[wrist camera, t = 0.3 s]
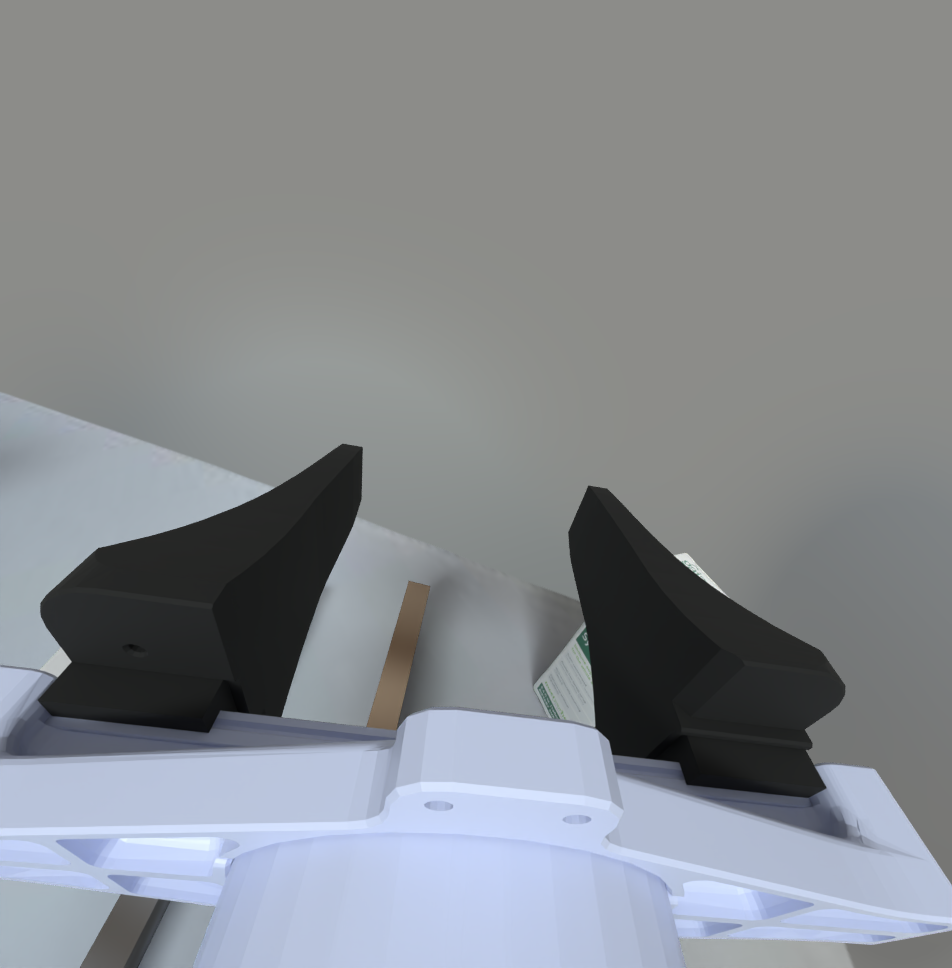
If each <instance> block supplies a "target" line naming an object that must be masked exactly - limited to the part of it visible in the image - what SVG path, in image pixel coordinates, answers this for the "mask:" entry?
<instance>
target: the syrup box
mask: <svg viewBox="0 0 952 968" xmlns="http://www.w3.org/2000/svg"><path fill="white" fill-rule="evenodd" d="M674 556H675V557H676V558H677V559H678V560H680V561H681V562H682V563H683V564H684V565H686V566H687V567H688V568H689V569H691V570H692V571H693V572H694V573H696V574H697V575H698V576H699V577H701V578H702V579H703V580H704V581H706V582H707V583H709V584H710V585H711V586H713V587H714V588H715V589H717V590H718V591H720V592H721V593H723V594H724V595H726V594H725V593H724V592H723V591H722V590H721V589H720V588H719V587H718V586H717V584H716V583H714V582H713V580H711V579H710V578H709V576H707V574H706V573H705V572H704V571H702V569H701V568H700V567H699V566H698V565H697V564H696V563H695V562H694V560H693V559H692V558H691V557H690V556H689V555H688V554H687V553H681V554H678V555H674ZM726 596H727V595H726ZM727 597H728V596H727ZM728 598H729V597H728ZM533 689H534V691H535V693H536V695H537V696H538V698H539V700H540V702H541V703H542V705H543V708H544V710H545V712H546V714H547V716H548V718H554V719H562V720H571V721H575V722H579V723H582V724H586V725H590V726H593V727H594V728H595V729H596V727H595V712H594V696H593V684H592V673H591V663H590V654H589V646H588V637H587V630H586V625H585V621H584V622H583V624H582V625H581V626H580V628H579V629H578V630H577V632H576V633H575V634H574V636H573V637H572V638H571V640H570V641H569V642H568V643H567V645H566V646H565V647H564V649H563V650H562V651H561V653H560V654H559V655H558V656H557V658H556V659H555V660H554V661H553V663H552V664H551V665H550V666H549V668H548V669H547V670H546V671H545V672H544V673H543V674H542V676H541V677H540V678H539V679H538V680H537V682H536V683H535V684H534V687H533Z"/></svg>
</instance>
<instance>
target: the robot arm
mask: <svg viewBox="0 0 952 968" xmlns="http://www.w3.org/2000/svg"><path fill="white" fill-rule="evenodd" d="M362 451H363V448H362V447H358V446H352V445H347V444H342V445H340V446H339V447H337V448H336V449H334V450H333V451H331V452H330V453H328V454H327V455H326V456H324V457H323V458H322V459H320V460H318V461H317V462H316V463H314V464H313V465H311V466H310V467H308V468H307V469H305V470H304V471H302V472H301V473H299V474H298V475H296V476H295V477H293V478H291V479H290V480H288V481H286V482H284V483H283V484H281V485H280V486H278V487H276V488H274V489H273V490H271V491H269V492H267V493H265V494H263V495H261V496H259V497H257V498H255V499H253V500H251V501H249V502H246V503H244V504H242V505H240V506H238V507H235V508H233V509H230V510H227V511H225V512H222V513H220V514H217V515H215V516H212V517H209V518H207V519H204V520H201V521H199V522H196V523H193V524H189V525H186V526H183V527H180V528H177V529H173V530H170V531H167V532H163V533H160V534H156V535H152V536H149V537H144V538H140V539H136V540H132V541H127V542H123V543H119V544H115V545H111V546H106V547H101V548H98V549H97V550H96V551H94V552H93V553H92V554H91V555H90V556H89V557H88V558H87V559H85V560H84V561H83V562H82V563H81V564H80V565H79V566H78V567H77V568H76V569H75V570H73V571H72V572H71V573H70V574H69V575H68V576H67V577H66V578H65V579H64V580H62V581H61V582H60V583H59V584H58V585H57V586H56V587H55V588H54V589H53V590H51V591H50V592H49V593H48V594H47V595H46V596H45V598H44V599H43V600H42V602H41V606H40V613H41V618H42V619H43V621H44V623H45V625H46V627H47V629H48V630H49V632H50V633H51V634H52V636H53V637H54V638H55V640H56V641H57V642H58V644H59V645H60V647H61V648H62V649H63V651H64V652H65V653H66V655H67V656H68V658H69V659H70V660H71V663H70V664H69V665H68V666H67V668H66V669H65V670H64V671H63V672H62V673H61V674H60V675H59V677H58V678H57V677H56V676H55V675H53V674H50V673H48V672H46V671H42V670H37V669H30V668H22V667H13V666H5V665H0V879H4V880H14V881H23V882H31V883H39V884H47V885H55V886H64V887H71V888H79V889H87V890H94V891H102V892H109V893H117V894H124V895H132V896H139V897H147V898H154V899H162V900H169V901H177V902H185V903H192V904H200V905H207V906H215V910H214V912H213V915H212V917H211V920H210V923H209V925H208V928H207V931H206V933H205V936H204V938H203V941H202V944H201V946H200V949H199V951H198V954H197V957H196V959H195V962H194V964H193V967H192V968H686V965H685V961H684V957H683V953H682V949H681V945H680V941H679V938H702V939H762V940H799V941H822V942H840V943H855V944H869V945H873V944H879V943H885V942H890V941H896V940H901V939H907V938H912V937H918V936H923V935H929V934H934V933H940V932H945V931H950V930H952V885H951V883H950V882H949V881H948V879H947V877H946V876H945V875H944V873H943V871H942V870H941V868H940V867H939V865H938V864H937V862H936V861H935V859H934V858H933V856H932V855H931V853H930V852H929V850H928V849H927V847H926V846H925V844H924V843H923V842H922V840H921V838H920V837H919V835H918V834H917V832H916V831H915V829H914V828H913V826H912V825H911V823H910V822H909V820H908V819H907V817H906V816H905V814H904V813H903V811H902V810H901V808H900V807H899V805H898V803H897V802H896V800H895V799H894V798H893V796H892V794H891V793H890V791H889V790H888V788H887V787H886V785H885V784H884V782H883V781H882V780H881V778H880V776H879V775H878V773H877V772H876V771H875V769H872V768H870V767H866V766H858V765H849V764H841V763H819V764H815V765H813V763H812V761H811V759H810V758H809V756H808V754H807V752H806V750H809V749H811V748H812V742H811V740H810V738H809V736H808V735H807V733H806V731H805V730H804V729H806V728H807V727H809V726H810V725H812V724H813V723H815V722H816V721H818V720H819V719H820V718H822V717H823V716H825V715H826V714H828V713H829V712H831V711H832V710H833V709H834V708H836V707H837V706H838V705H839V704H840V702H841V701H842V699H843V697H844V695H845V684H844V683H843V682H842V680H841V679H840V677H839V676H838V674H837V673H836V672H835V670H834V669H833V667H832V666H831V664H830V663H829V661H828V660H827V658H826V657H825V656H824V654H823V653H822V652H821V651H820V650H819V649H817V648H815V647H813V646H811V645H809V644H807V643H805V642H803V641H801V640H800V639H798V638H796V637H794V636H792V635H790V634H788V633H786V632H784V631H783V630H781V629H779V628H777V627H775V626H773V625H771V624H770V623H768V622H767V621H765V620H763V619H762V618H760V617H758V616H757V615H755V614H753V613H752V612H750V611H748V610H747V609H745V608H743V607H742V606H741V605H739V604H737V603H736V602H734V601H733V600H731V599H730V598H728V597H727V596H726V595H724V594H723V593H721V592H720V591H718V590H717V589H715V588H714V587H713V586H711V585H710V584H709V583H707V582H706V581H704V580H703V579H702V578H701V577H699V576H698V575H697V574H696V573H694V572H693V571H692V570H691V569H689V568H688V567H687V566H686V565H684V564H683V563H682V562H681V561H680V560H678V559H677V558H676V557H675V556H674V555H673V554H671V553H670V552H669V551H668V550H667V549H666V548H665V547H664V546H663V545H662V544H661V543H660V542H659V541H658V540H657V539H656V538H655V537H653V536H652V535H651V534H650V533H649V531H648V530H647V529H645V527H644V526H643V525H642V524H641V523H640V522H639V521H638V520H637V519H636V518H635V517H634V516H633V515H632V514H631V513H630V512H629V511H628V510H627V508H626V507H624V505H623V504H622V503H621V502H620V501H619V500H618V499H617V498H616V497H615V496H614V495H613V494H612V493H611V492H610V491H609V490H608V489H605V488H600V487H593V486H588V488H587V491H586V493H585V495H584V498H583V500H582V502H581V504H580V507H579V509H578V511H577V513H576V516H575V518H574V521H573V523H572V525H571V528H570V530H569V532H568V533H569V548H570V558H571V564H572V568H573V572H574V577H575V581H576V586H577V590H578V594H579V598H580V603H581V607H582V611H583V615H584V620H585V625H586V630H587V637H588V646H589V654H590V663H591V673H592V684H593V696H594V712H595V727H596V729H595V728H594V727H593V726H590V725H586V724H582V723H579V722H575V721H571V720H562V719H554V718H546V717H537V716H529V715H521V714H512V713H504V712H496V711H487V710H479V709H470V708H462V707H430V708H427V709H424V710H421V711H418V712H415V713H412V714H411V715H409V716H408V717H407V718H406V719H405V720H404V721H403V723H402V724H401V725H400V726H399V727H398V730H388V729H379V728H371V727H362V726H353V725H344V724H335V723H326V722H318V721H309V720H300V719H291V718H282V717H281V716H282V713H283V710H284V706H285V703H286V699H287V696H288V693H289V689H290V686H291V683H292V680H293V677H294V673H295V670H296V667H297V664H298V661H299V657H300V654H301V651H302V648H303V645H304V642H305V639H306V636H307V633H308V630H309V627H310V624H311V621H312V618H313V616H314V613H315V610H316V607H317V604H318V601H319V598H320V596H321V593H322V591H323V588H324V586H325V584H326V582H327V579H328V577H329V575H330V573H331V571H332V569H333V567H334V565H335V563H336V561H337V559H338V556H339V554H340V552H341V550H342V548H343V546H344V544H345V542H346V540H347V538H348V535H349V533H350V531H351V529H352V527H353V524H354V521H355V518H356V515H357V512H358V508H359V505H360V502H361V496H362V495H361V491H362V453H363V452H362Z"/></svg>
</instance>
